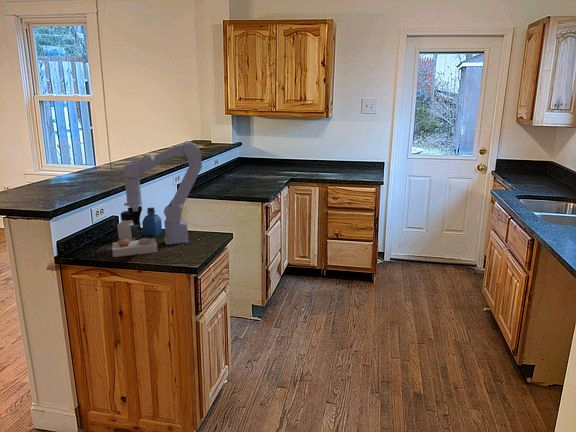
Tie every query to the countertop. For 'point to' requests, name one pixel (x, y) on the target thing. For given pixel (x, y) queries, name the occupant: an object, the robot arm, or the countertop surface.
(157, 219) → the perfume bottle
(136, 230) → the medicine bottle
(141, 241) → the grey button
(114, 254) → the panel
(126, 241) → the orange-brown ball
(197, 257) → the countertop surface
